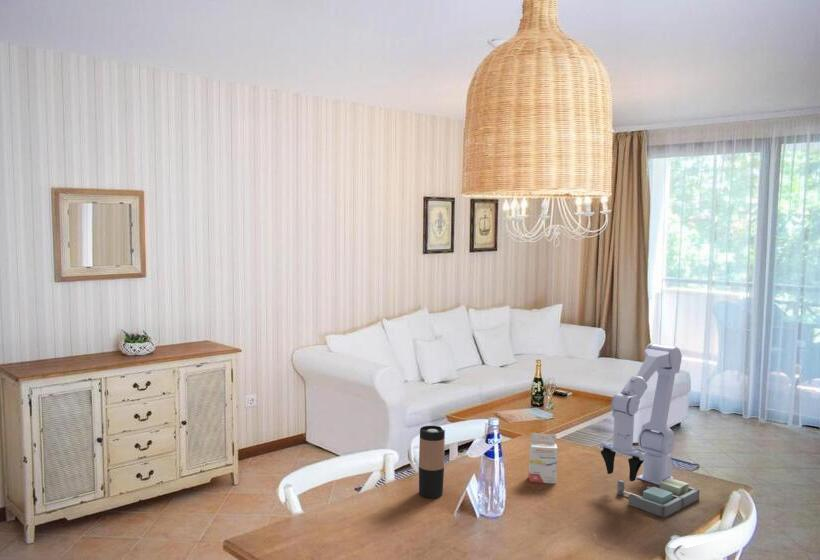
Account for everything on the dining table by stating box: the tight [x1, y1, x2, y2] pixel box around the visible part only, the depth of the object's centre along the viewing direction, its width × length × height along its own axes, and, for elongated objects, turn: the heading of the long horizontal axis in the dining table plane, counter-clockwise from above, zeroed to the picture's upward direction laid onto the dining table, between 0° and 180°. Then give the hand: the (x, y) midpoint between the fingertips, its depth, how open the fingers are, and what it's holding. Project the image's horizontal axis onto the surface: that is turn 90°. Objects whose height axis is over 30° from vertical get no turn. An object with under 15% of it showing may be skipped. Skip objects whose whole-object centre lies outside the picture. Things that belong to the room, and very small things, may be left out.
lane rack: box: [628, 479, 700, 518], centre depth 198 cm, size 21×11×3 cm, turn 131°
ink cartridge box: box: [528, 432, 559, 485], centre depth 214 cm, size 9×5×15 cm, turn 84°
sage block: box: [659, 478, 690, 496], centre depth 201 cm, size 6×6×5 cm
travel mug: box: [418, 425, 446, 499], centre depth 200 cm, size 8×8×20 cm
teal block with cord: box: [616, 479, 673, 505], centre depth 199 cm, size 6×16×4 cm, turn 41°
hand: (621, 476), depth 204 cm, fingers open, 7 cm apart
